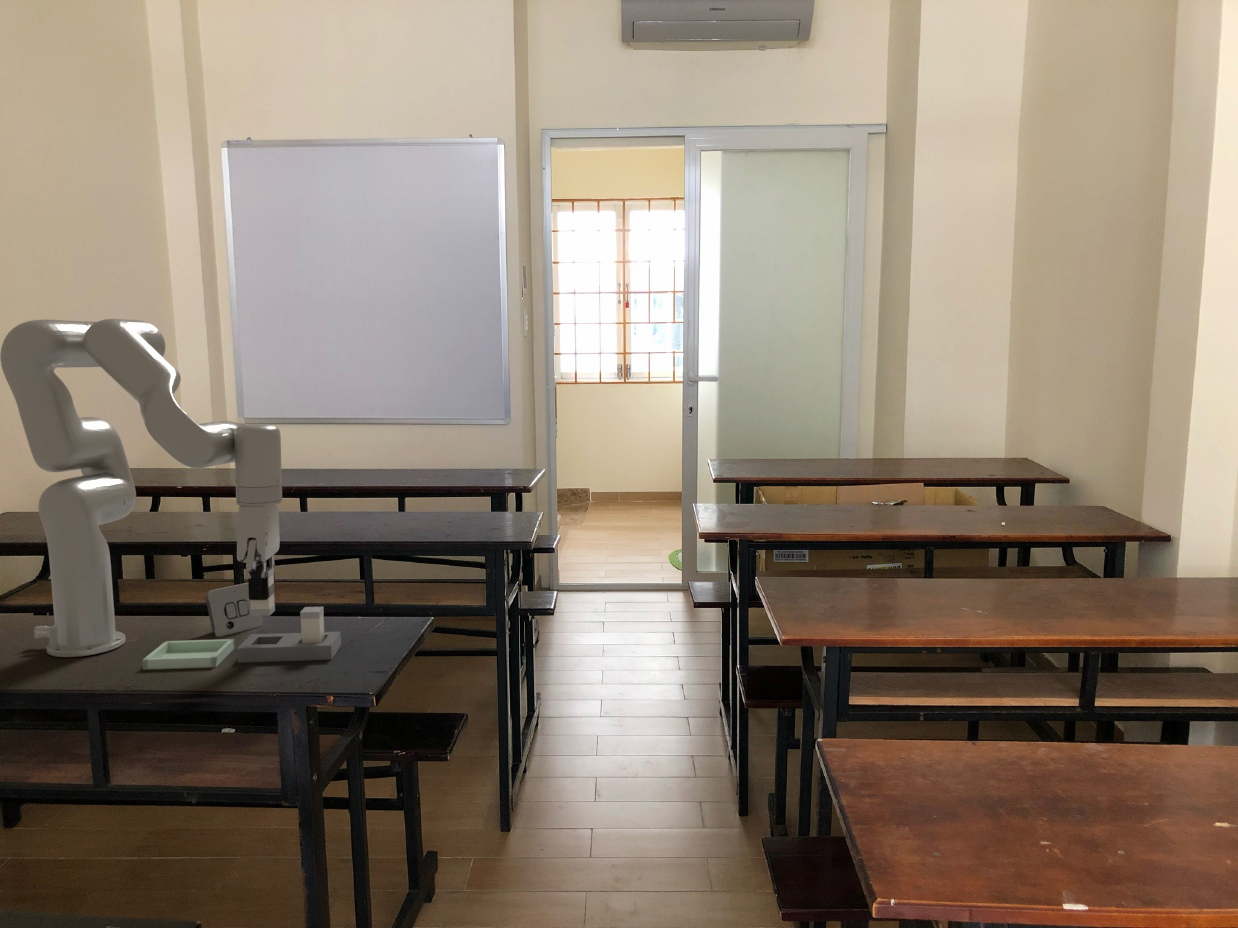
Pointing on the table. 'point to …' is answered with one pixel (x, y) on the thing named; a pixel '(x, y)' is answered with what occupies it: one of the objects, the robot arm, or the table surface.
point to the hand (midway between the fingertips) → (262, 595)
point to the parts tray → (189, 654)
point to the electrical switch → (231, 610)
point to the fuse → (312, 624)
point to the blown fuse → (265, 605)
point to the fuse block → (287, 648)
